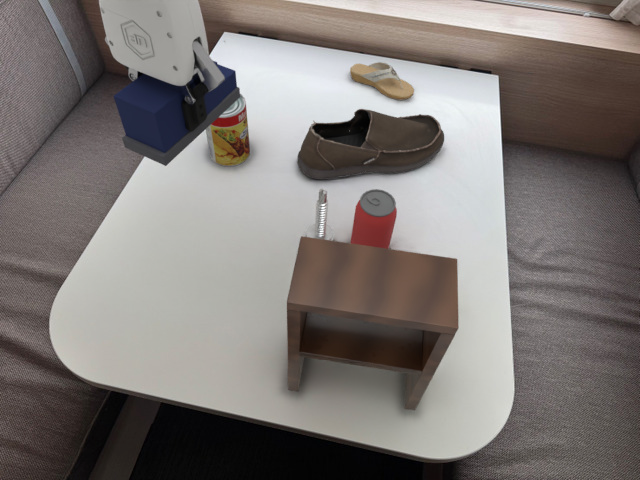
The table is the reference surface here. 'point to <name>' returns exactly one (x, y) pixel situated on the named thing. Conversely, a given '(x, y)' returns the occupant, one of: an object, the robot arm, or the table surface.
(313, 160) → the loafer
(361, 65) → the sandal
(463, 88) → the table surface
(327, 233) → the screw
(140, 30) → the robot arm
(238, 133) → the canned food
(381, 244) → the beer can
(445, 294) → the shoe stand
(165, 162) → the blue stepped block
